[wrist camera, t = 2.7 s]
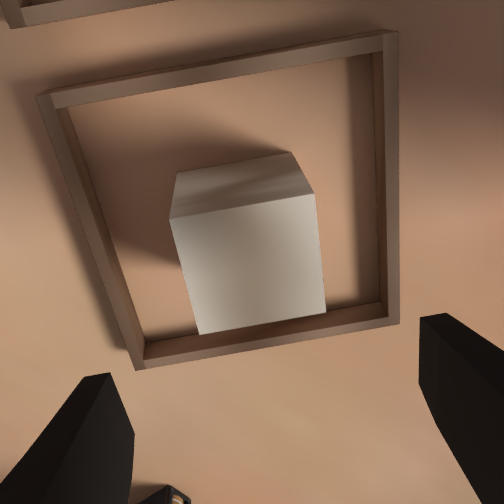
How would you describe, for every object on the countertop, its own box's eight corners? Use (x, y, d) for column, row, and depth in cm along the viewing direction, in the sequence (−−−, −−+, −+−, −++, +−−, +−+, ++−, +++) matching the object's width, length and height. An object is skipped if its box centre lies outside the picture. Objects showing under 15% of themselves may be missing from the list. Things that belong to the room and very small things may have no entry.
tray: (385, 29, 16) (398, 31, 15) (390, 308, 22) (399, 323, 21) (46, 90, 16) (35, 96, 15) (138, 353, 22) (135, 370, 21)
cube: (291, 151, 18) (314, 193, 14) (303, 252, 20) (326, 312, 16) (176, 171, 18) (168, 219, 14) (200, 270, 20) (199, 334, 16)
